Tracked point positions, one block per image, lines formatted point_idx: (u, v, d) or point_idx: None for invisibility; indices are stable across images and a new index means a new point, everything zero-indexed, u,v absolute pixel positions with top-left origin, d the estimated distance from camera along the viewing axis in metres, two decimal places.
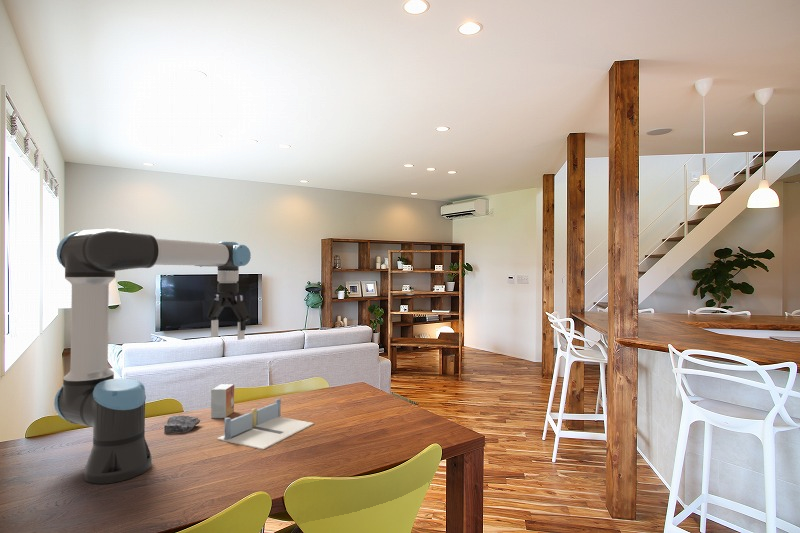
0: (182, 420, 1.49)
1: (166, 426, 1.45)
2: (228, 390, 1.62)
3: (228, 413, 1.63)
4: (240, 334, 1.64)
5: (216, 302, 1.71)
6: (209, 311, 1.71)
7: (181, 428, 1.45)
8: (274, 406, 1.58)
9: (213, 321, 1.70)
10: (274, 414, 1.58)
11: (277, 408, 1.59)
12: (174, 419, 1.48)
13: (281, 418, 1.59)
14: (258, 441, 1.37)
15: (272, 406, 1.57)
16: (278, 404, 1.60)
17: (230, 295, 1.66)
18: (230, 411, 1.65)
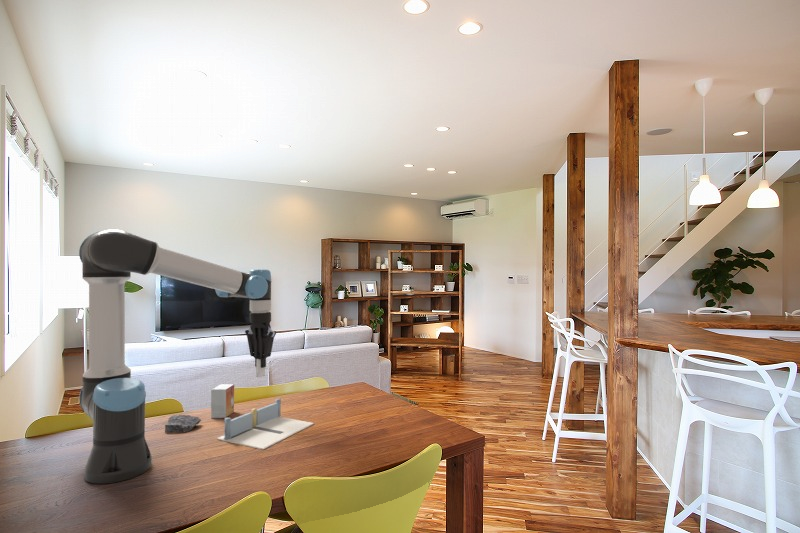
0: (183, 420, 1.49)
1: (167, 425, 1.45)
2: (228, 390, 1.62)
3: (228, 413, 1.63)
4: (260, 371, 1.60)
5: (252, 336, 1.63)
6: (250, 348, 1.61)
7: (182, 428, 1.46)
8: (274, 406, 1.58)
9: None
10: (274, 414, 1.58)
11: (277, 408, 1.59)
12: (175, 418, 1.49)
13: (281, 418, 1.59)
14: (258, 441, 1.37)
15: (272, 406, 1.57)
16: (278, 404, 1.60)
17: (264, 325, 1.59)
18: (230, 411, 1.65)
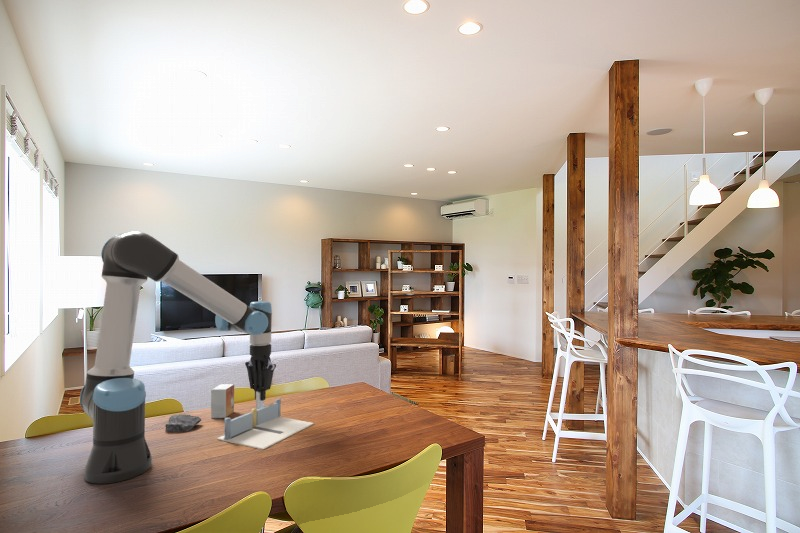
0: (183, 419, 1.50)
1: (167, 425, 1.46)
2: (228, 390, 1.62)
3: (228, 413, 1.63)
4: (260, 404, 1.59)
5: (252, 368, 1.62)
6: (250, 380, 1.61)
7: (182, 427, 1.46)
8: (274, 406, 1.58)
9: None
10: (274, 414, 1.58)
11: (277, 408, 1.59)
12: (175, 418, 1.49)
13: (281, 418, 1.59)
14: (258, 441, 1.37)
15: (272, 406, 1.57)
16: (278, 404, 1.60)
17: (264, 358, 1.58)
18: (230, 411, 1.65)
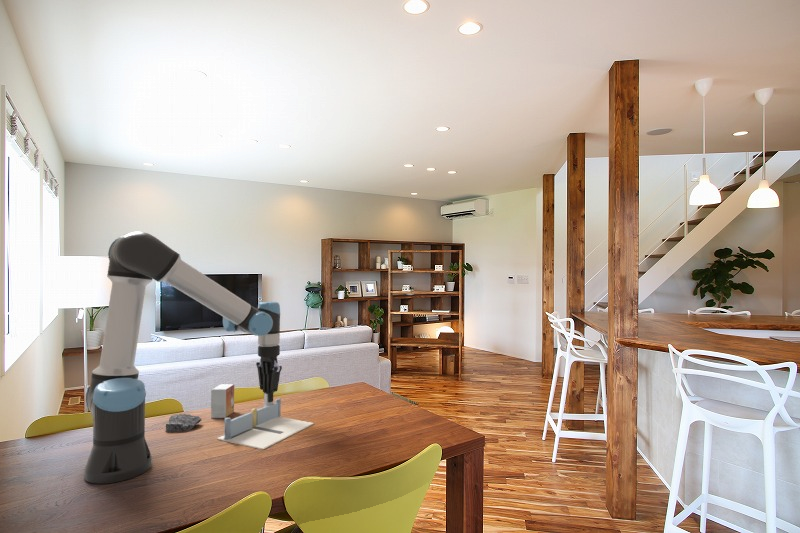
0: (184, 419, 1.50)
1: (167, 424, 1.46)
2: (228, 390, 1.62)
3: (228, 413, 1.63)
4: None
5: None
6: (260, 381, 1.60)
7: (182, 427, 1.47)
8: (274, 406, 1.58)
9: None
10: (274, 414, 1.58)
11: (277, 408, 1.59)
12: (175, 418, 1.50)
13: (281, 418, 1.59)
14: (258, 441, 1.37)
15: (272, 406, 1.57)
16: (278, 404, 1.60)
17: (271, 359, 1.56)
18: (230, 411, 1.65)
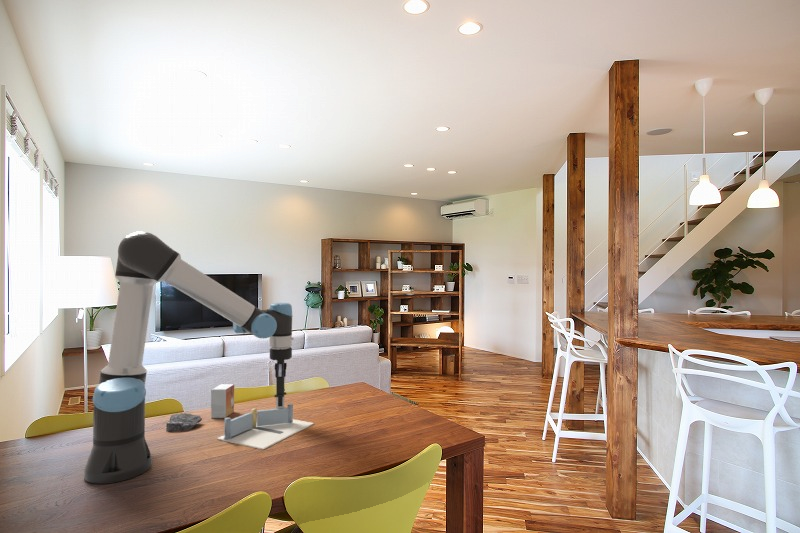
0: (184, 418, 1.51)
1: (168, 424, 1.47)
2: (228, 390, 1.62)
3: (228, 413, 1.63)
4: None
5: None
6: None
7: (183, 426, 1.47)
8: (282, 411, 1.53)
9: None
10: (282, 419, 1.52)
11: (287, 414, 1.53)
12: (176, 417, 1.50)
13: None
14: (258, 441, 1.37)
15: (279, 410, 1.52)
16: (288, 410, 1.53)
17: (277, 362, 1.51)
18: (230, 411, 1.65)
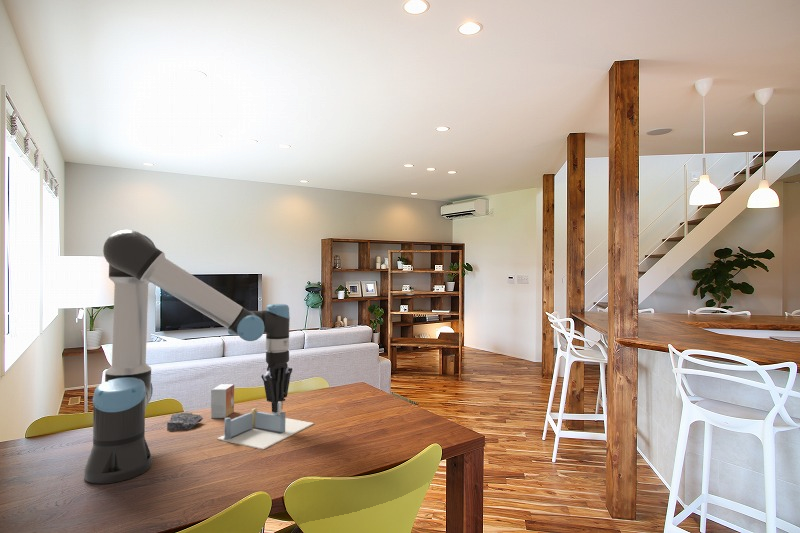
0: (185, 418, 1.51)
1: (169, 423, 1.48)
2: (228, 390, 1.62)
3: (228, 413, 1.63)
4: None
5: (285, 375, 1.51)
6: None
7: (183, 425, 1.48)
8: (275, 418, 1.45)
9: None
10: (275, 426, 1.45)
11: (278, 422, 1.45)
12: (177, 416, 1.51)
13: None
14: (258, 441, 1.37)
15: (272, 416, 1.46)
16: (279, 418, 1.44)
17: None
18: (230, 411, 1.65)
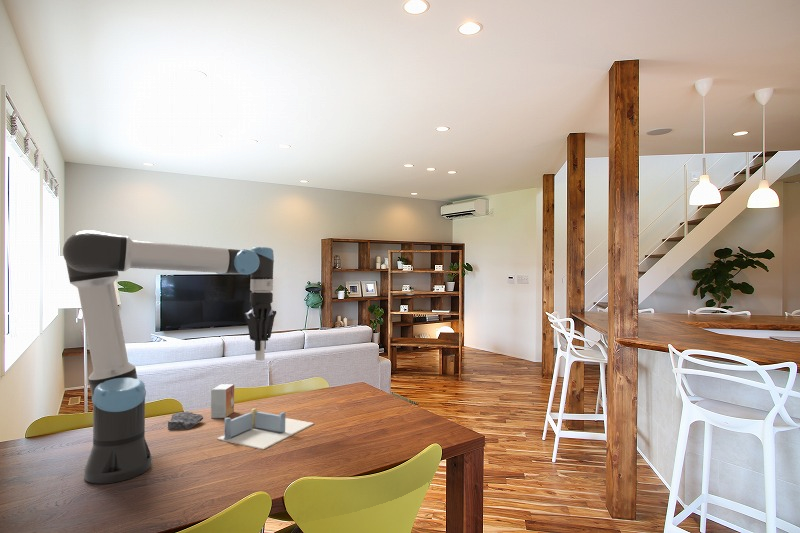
0: (186, 417, 1.52)
1: (169, 422, 1.48)
2: (228, 390, 1.62)
3: (228, 413, 1.63)
4: (256, 354, 1.52)
5: (269, 317, 1.57)
6: None
7: (184, 425, 1.49)
8: (275, 418, 1.45)
9: None
10: (275, 426, 1.45)
11: (278, 422, 1.45)
12: (178, 415, 1.52)
13: None
14: (258, 441, 1.37)
15: (272, 416, 1.46)
16: (279, 418, 1.44)
17: None
18: (230, 411, 1.65)
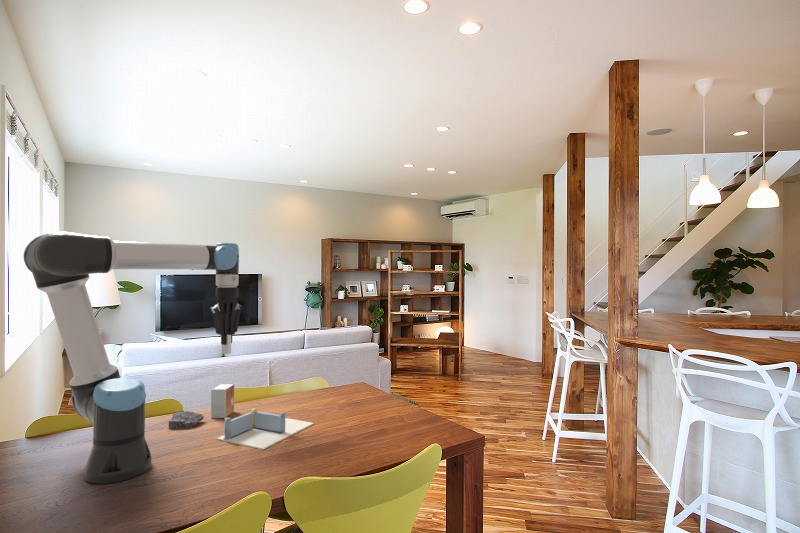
0: (186, 416, 1.53)
1: (170, 421, 1.49)
2: (228, 390, 1.62)
3: (228, 413, 1.63)
4: (223, 348, 1.55)
5: (235, 312, 1.59)
6: None
7: (185, 424, 1.49)
8: (275, 418, 1.45)
9: None
10: (275, 426, 1.45)
11: (278, 422, 1.45)
12: (178, 415, 1.52)
13: None
14: (258, 441, 1.37)
15: (272, 416, 1.46)
16: (279, 418, 1.44)
17: None
18: (230, 411, 1.65)
